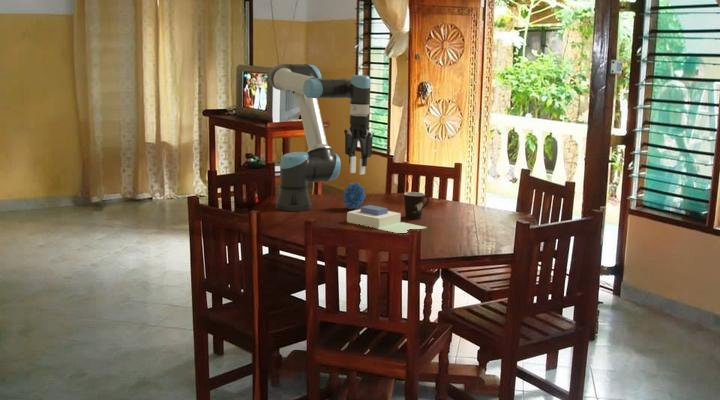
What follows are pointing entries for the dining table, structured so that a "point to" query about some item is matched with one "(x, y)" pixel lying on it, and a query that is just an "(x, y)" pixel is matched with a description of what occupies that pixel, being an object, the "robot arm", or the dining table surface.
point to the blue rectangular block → (374, 210)
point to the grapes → (354, 195)
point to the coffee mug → (414, 204)
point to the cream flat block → (373, 219)
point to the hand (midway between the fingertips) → (357, 173)
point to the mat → (401, 227)
